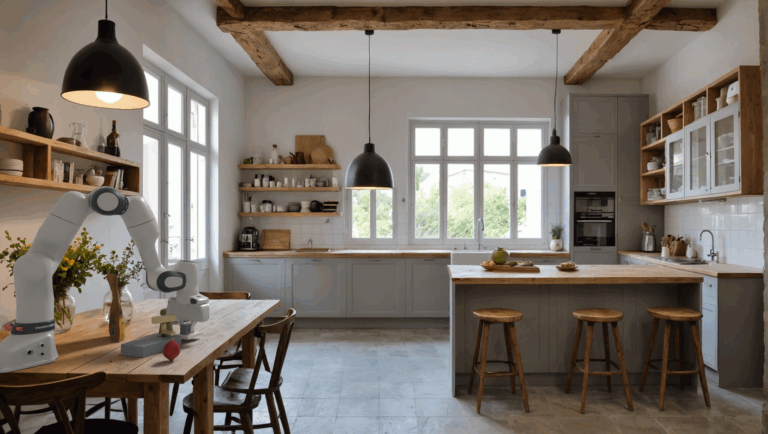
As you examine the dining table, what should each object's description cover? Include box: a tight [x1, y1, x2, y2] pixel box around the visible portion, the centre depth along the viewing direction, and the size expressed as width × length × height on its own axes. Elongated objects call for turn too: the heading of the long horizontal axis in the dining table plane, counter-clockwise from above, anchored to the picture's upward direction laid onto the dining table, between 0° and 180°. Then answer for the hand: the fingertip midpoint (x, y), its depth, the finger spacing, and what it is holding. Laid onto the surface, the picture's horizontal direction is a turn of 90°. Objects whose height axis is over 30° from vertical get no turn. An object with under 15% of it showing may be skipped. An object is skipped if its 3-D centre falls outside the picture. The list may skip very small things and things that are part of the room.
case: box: [120, 332, 182, 359], centre depth 187 cm, size 19×11×4 cm, turn 161°
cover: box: [176, 322, 204, 340], centre depth 203 cm, size 9×9×5 cm
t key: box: [151, 314, 177, 336], centre depth 191 cm, size 8×9×8 cm
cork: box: [158, 307, 174, 334], centre depth 216 cm, size 6×6×11 cm
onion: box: [162, 339, 181, 362], centre depth 173 cm, size 6×6×8 cm
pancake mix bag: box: [105, 272, 126, 343], centre depth 205 cm, size 7×19×28 cm, turn 33°
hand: (187, 330), depth 203 cm, fingers closed on cover, 3 cm apart
